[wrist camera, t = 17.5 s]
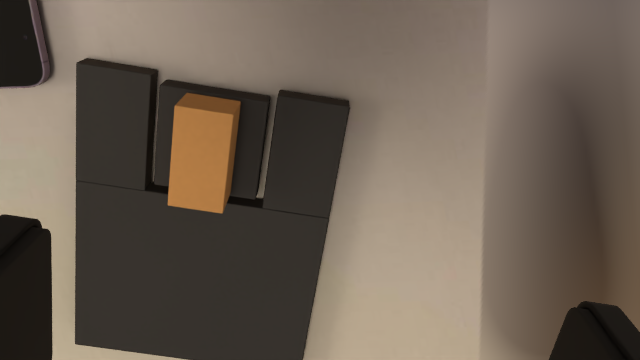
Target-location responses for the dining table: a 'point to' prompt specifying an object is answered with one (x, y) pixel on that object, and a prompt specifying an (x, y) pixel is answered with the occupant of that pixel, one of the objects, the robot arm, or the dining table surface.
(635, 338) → the robot arm
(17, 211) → the dining table surface
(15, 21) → the smartphone
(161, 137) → the pad piece
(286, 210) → the mat
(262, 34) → the dining table surface
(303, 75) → the dining table surface
